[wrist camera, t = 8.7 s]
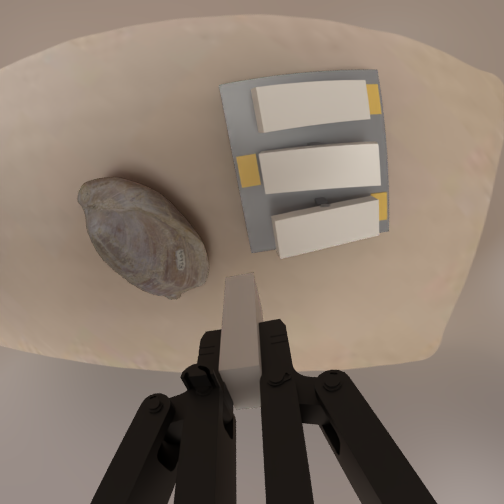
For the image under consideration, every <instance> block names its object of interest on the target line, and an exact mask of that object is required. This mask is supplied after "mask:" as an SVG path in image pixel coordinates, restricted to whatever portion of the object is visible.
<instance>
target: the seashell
mask: <svg viewBox="0 0 504 504" xmlns="http://www.w3.org/2000/svg"><path fill="white" fill-rule="evenodd" d="M78 202H79V204H80V205H81V206H82V208H83V210H84V212H85V216H86V227H87V232H88V234H89V236H90V239H91V241H92V243H93V245H94V247H95V249H96V251H97V252H98V254H99V255H100V256H101V258H102V259H103V260H104V261H105V262H106V263H107V264H108V265H109V266H110V267H111V268H112V269H113V270H114V271H115V272H117V273H118V274H119V275H121V276H122V277H123V278H125V279H126V280H127V281H128V282H129V283H131V284H132V285H134V286H136V287H137V288H140V289H141V290H143V291H145V292H148V293H151V294H154V295H158V296H165V297H167V298H168V299H171V300H172V299H178V298H180V296H181V294H182V293H184V292H186V291H188V290H190V289H192V288H195V287H199V286H202V285H203V284H205V282H206V279H207V276H208V273H209V262H208V256H207V252H206V249H205V247H204V243H203V242H202V240H201V238H200V236H199V235H198V233H197V232H196V231H195V230H194V228H193V227H192V226H191V225H190V223H189V222H188V221H187V220H186V218H185V217H184V216H183V215H182V214H181V213H180V212H179V211H178V210H177V209H176V208H175V207H174V206H173V205H172V204H171V203H170V202H169V201H168V200H167V199H166V198H165V197H164V196H163V195H161V194H160V193H158V192H156V191H154V190H153V189H151V188H149V187H147V186H144V185H142V184H140V183H137V182H134V181H130V180H127V179H124V178H116V177H107V178H99V179H94V180H91V181H88V182H86V183H84V184H83V185H82V186H81V188H80V190H79V192H78Z"/></svg>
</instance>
